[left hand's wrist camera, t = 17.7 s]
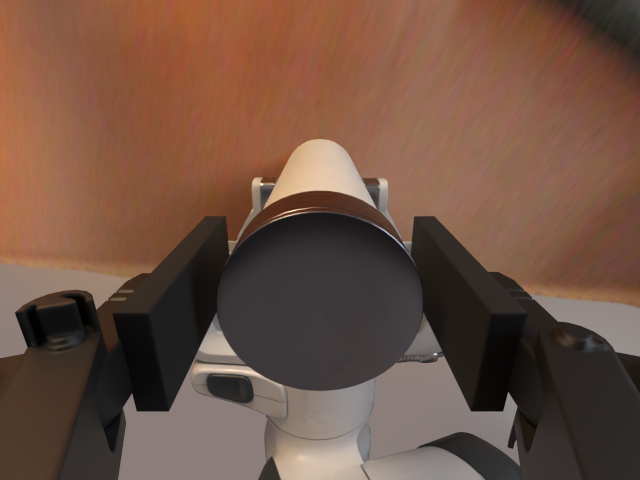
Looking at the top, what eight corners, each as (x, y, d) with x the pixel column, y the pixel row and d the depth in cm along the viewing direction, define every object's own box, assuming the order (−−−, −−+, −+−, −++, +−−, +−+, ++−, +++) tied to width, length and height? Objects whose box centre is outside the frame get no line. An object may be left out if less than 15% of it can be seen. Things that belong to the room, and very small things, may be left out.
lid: (420, 197, 11) (444, 220, 9) (392, 349, 13) (405, 397, 11) (232, 182, 11) (212, 202, 9) (234, 339, 13) (218, 385, 11)
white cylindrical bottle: (355, 204, 29) (410, 363, 11) (290, 210, 29) (246, 376, 12) (351, 135, 27) (410, 203, 9) (281, 142, 27) (212, 221, 10)
